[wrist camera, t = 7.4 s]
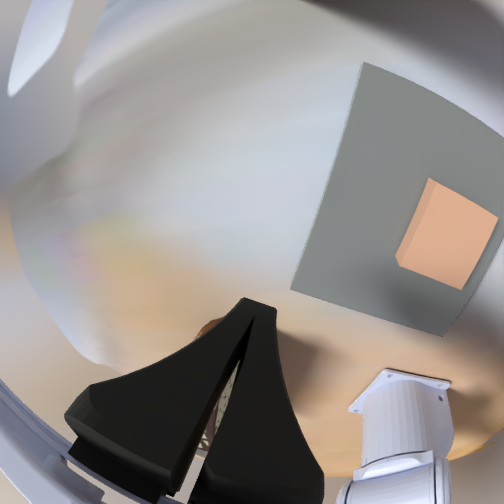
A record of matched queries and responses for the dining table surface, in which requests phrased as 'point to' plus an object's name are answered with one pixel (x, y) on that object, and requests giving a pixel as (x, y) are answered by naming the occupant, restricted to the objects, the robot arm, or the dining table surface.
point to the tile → (445, 235)
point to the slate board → (398, 201)
